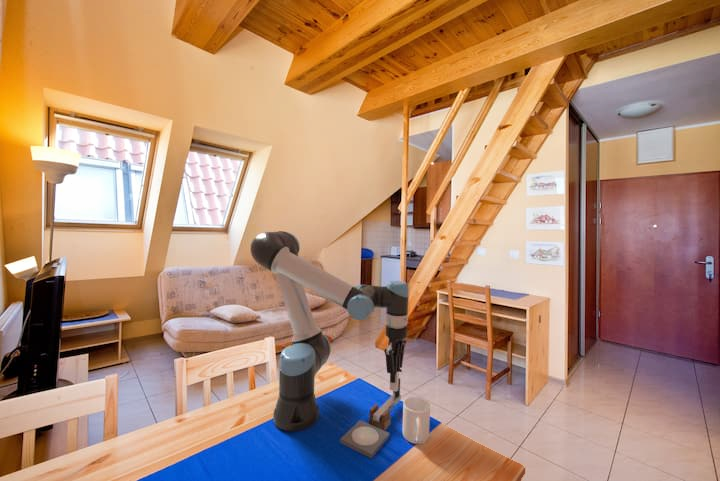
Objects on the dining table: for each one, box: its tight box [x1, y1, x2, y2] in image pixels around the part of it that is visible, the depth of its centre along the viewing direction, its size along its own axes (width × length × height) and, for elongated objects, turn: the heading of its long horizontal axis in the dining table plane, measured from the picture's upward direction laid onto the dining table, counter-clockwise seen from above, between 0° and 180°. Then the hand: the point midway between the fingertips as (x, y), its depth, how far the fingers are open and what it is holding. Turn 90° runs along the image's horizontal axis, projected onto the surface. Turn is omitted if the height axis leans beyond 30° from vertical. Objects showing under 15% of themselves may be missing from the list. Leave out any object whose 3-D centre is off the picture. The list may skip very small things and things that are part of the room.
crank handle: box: [373, 377, 402, 422], centre depth 108 cm, size 2×16×8 cm, turn 147°
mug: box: [402, 396, 431, 445], centre depth 97 cm, size 12×8×10 cm
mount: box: [368, 403, 391, 431], centre depth 104 cm, size 6×4×5 cm, turn 57°
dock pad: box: [339, 419, 390, 459], centre depth 96 cm, size 11×11×1 cm
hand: (393, 389), depth 112 cm, fingers closed
